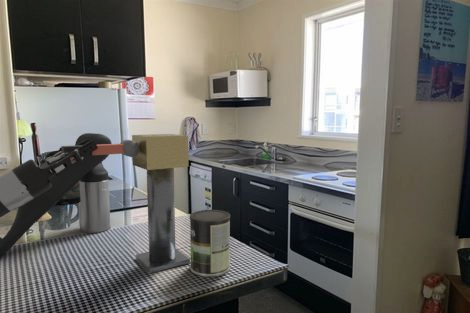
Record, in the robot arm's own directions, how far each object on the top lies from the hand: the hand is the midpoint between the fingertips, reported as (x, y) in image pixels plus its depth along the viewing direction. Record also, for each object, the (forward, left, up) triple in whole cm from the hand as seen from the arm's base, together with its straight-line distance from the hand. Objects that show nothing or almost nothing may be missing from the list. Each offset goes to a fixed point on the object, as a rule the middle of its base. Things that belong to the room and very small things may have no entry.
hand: (92, 143), depth 82 cm
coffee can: (+24, +13, -33) cm, 43 cm away
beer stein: (-67, +60, -33) cm, 96 cm away
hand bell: (-55, +33, -33) cm, 72 cm away
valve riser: (+10, +13, -33) cm, 37 cm away
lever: (+1, +2, -4) cm, 4 cm away
